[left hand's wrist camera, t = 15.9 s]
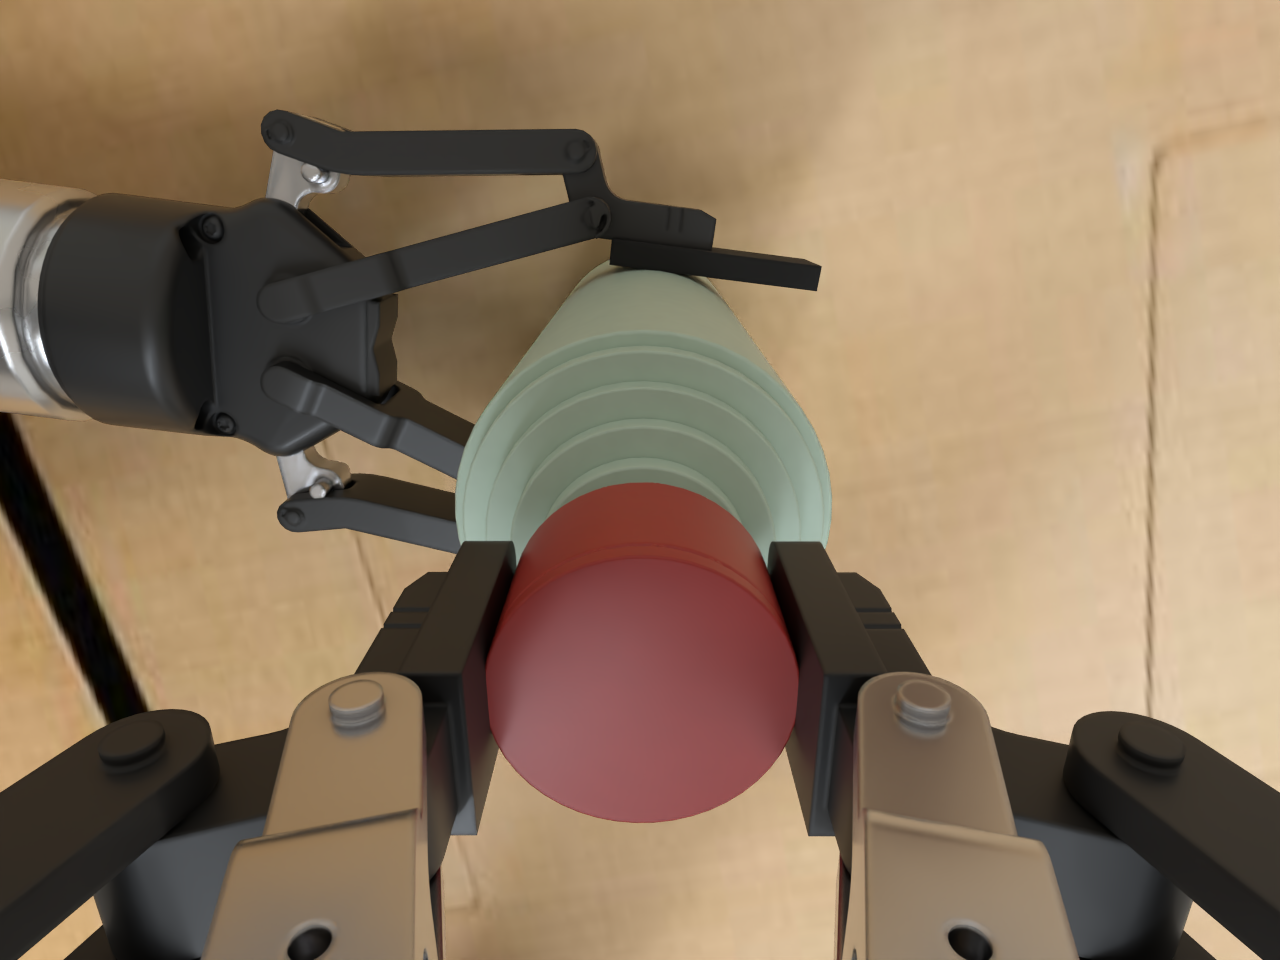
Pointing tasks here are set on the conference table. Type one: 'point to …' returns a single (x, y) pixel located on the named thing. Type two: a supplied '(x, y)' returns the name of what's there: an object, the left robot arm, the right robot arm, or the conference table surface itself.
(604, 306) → the bottle
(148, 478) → the conference table surface
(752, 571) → the cap
